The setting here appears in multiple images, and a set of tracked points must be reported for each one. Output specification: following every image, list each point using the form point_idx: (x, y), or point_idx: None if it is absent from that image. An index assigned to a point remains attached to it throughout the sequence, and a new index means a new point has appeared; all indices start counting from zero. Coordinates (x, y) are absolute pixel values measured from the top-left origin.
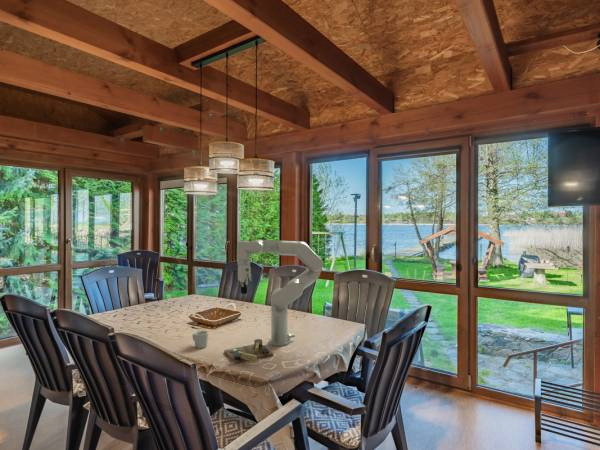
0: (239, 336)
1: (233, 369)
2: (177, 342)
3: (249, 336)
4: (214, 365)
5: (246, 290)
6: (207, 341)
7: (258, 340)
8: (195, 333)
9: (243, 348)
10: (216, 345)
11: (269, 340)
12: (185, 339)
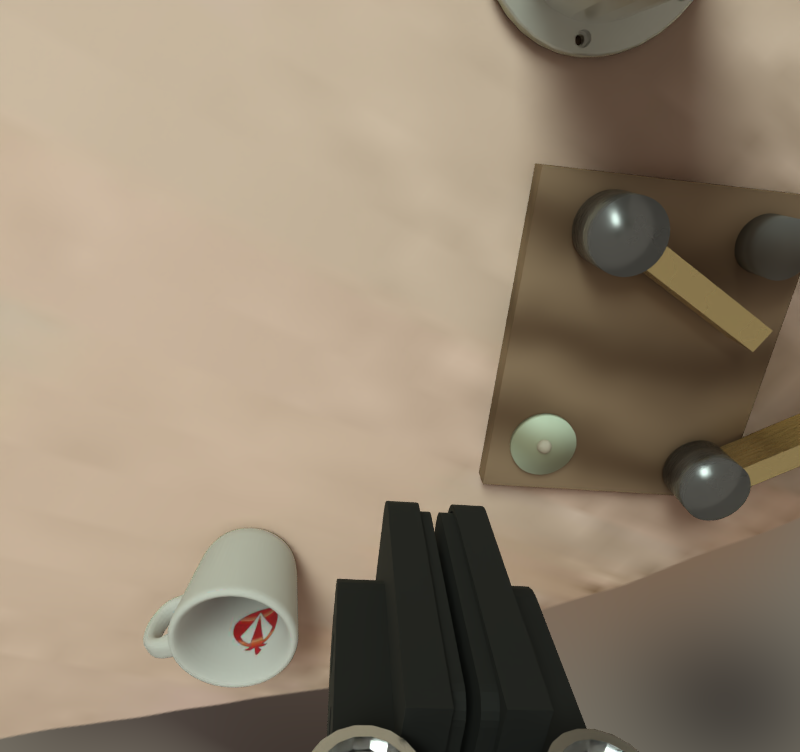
0: (166, 202)
1: (759, 522)
2: (64, 656)
3: (223, 109)
4: (624, 584)
5: (498, 585)
6: (266, 546)
7: (632, 235)
8: (202, 666)
9: (555, 355)
10: (291, 464)
11: (531, 22)
12: (16, 602)
